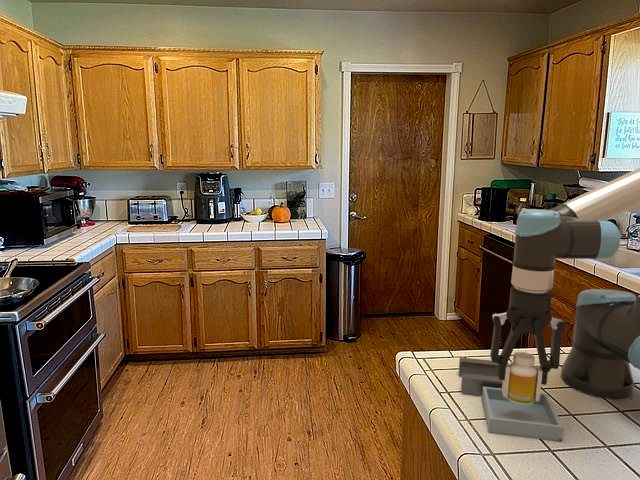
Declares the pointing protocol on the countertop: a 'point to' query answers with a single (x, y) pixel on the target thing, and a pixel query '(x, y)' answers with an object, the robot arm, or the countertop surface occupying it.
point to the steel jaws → (478, 375)
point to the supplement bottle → (522, 379)
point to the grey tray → (521, 416)
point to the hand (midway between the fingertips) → (520, 395)
